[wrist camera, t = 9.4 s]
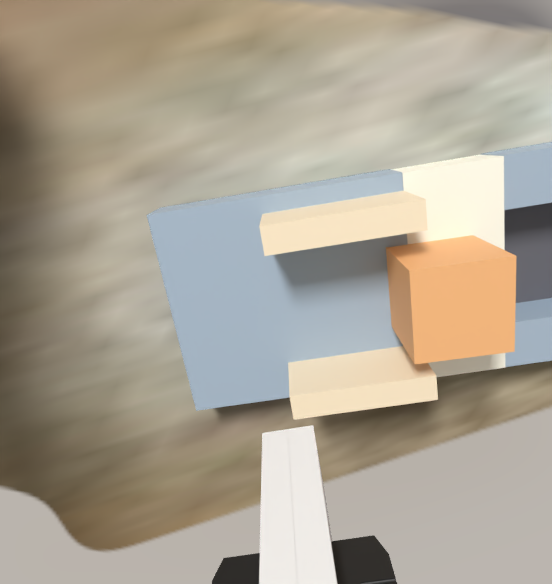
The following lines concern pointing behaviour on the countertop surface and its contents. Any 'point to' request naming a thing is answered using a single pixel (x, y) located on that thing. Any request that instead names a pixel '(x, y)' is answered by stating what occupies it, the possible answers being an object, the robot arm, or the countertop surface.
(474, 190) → the pad
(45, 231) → the countertop surface
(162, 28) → the countertop surface
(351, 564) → the robot arm
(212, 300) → the tunnel deck
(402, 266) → the block
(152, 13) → the countertop surface
